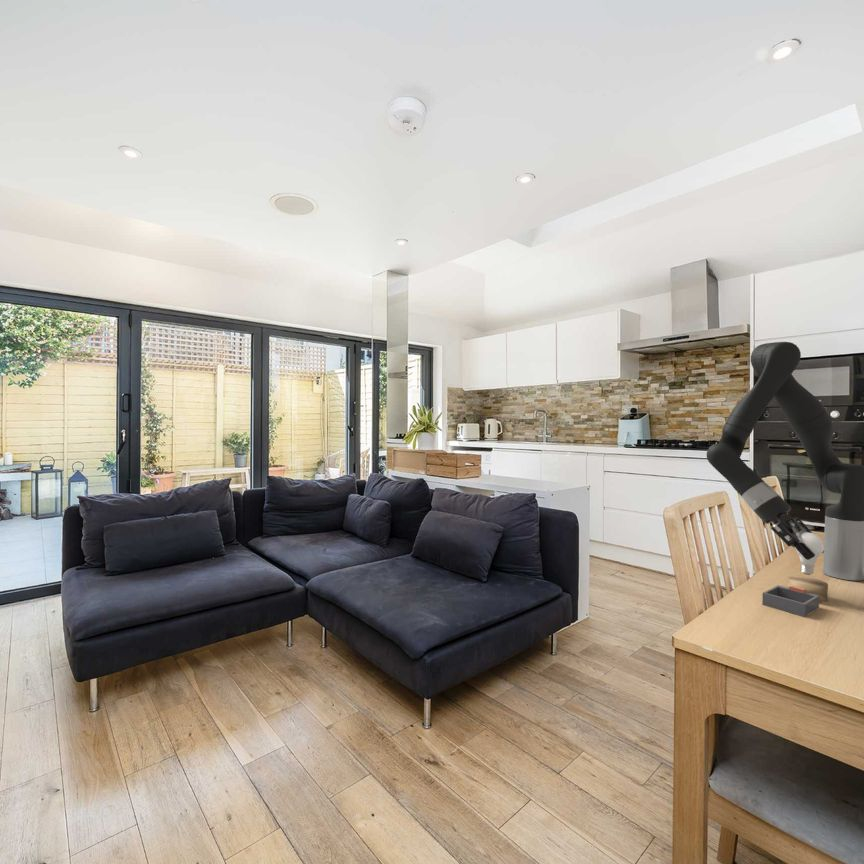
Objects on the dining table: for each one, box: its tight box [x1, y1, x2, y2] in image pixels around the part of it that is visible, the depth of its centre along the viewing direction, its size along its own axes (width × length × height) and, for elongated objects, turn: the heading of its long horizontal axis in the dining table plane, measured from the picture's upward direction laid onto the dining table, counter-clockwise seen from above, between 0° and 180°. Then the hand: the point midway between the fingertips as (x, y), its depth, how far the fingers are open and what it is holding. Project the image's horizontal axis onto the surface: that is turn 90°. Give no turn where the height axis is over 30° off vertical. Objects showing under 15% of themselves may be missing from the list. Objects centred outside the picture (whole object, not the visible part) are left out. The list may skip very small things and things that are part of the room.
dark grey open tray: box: [761, 584, 820, 618], centre depth 116 cm, size 10×9×4 cm
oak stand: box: [788, 575, 829, 604], centre depth 123 cm, size 8×8×4 cm
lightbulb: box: [794, 532, 825, 576], centre depth 123 cm, size 6×6×11 cm
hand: (816, 555), depth 121 cm, fingers closed on lightbulb, 6 cm apart
